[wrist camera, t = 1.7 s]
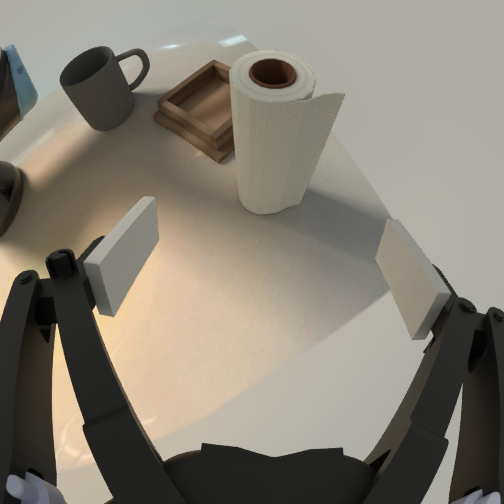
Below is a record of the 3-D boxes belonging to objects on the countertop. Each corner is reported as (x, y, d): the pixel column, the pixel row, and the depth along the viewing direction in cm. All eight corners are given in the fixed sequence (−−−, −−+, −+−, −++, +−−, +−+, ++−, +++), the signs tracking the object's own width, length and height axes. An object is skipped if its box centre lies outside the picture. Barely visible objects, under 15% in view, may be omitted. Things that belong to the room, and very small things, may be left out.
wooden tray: (154, 119, 41) (148, 103, 37) (215, 70, 43) (213, 54, 39) (218, 163, 39) (215, 148, 35) (280, 106, 41) (282, 89, 37)
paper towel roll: (229, 190, 38) (211, 66, 17) (265, 166, 39) (278, 39, 18) (262, 231, 37) (278, 127, 16) (299, 205, 37) (346, 91, 17)
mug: (93, 141, 40) (59, 97, 28) (86, 108, 42) (58, 66, 30) (166, 103, 41) (148, 49, 30) (152, 74, 43) (135, 26, 31)
